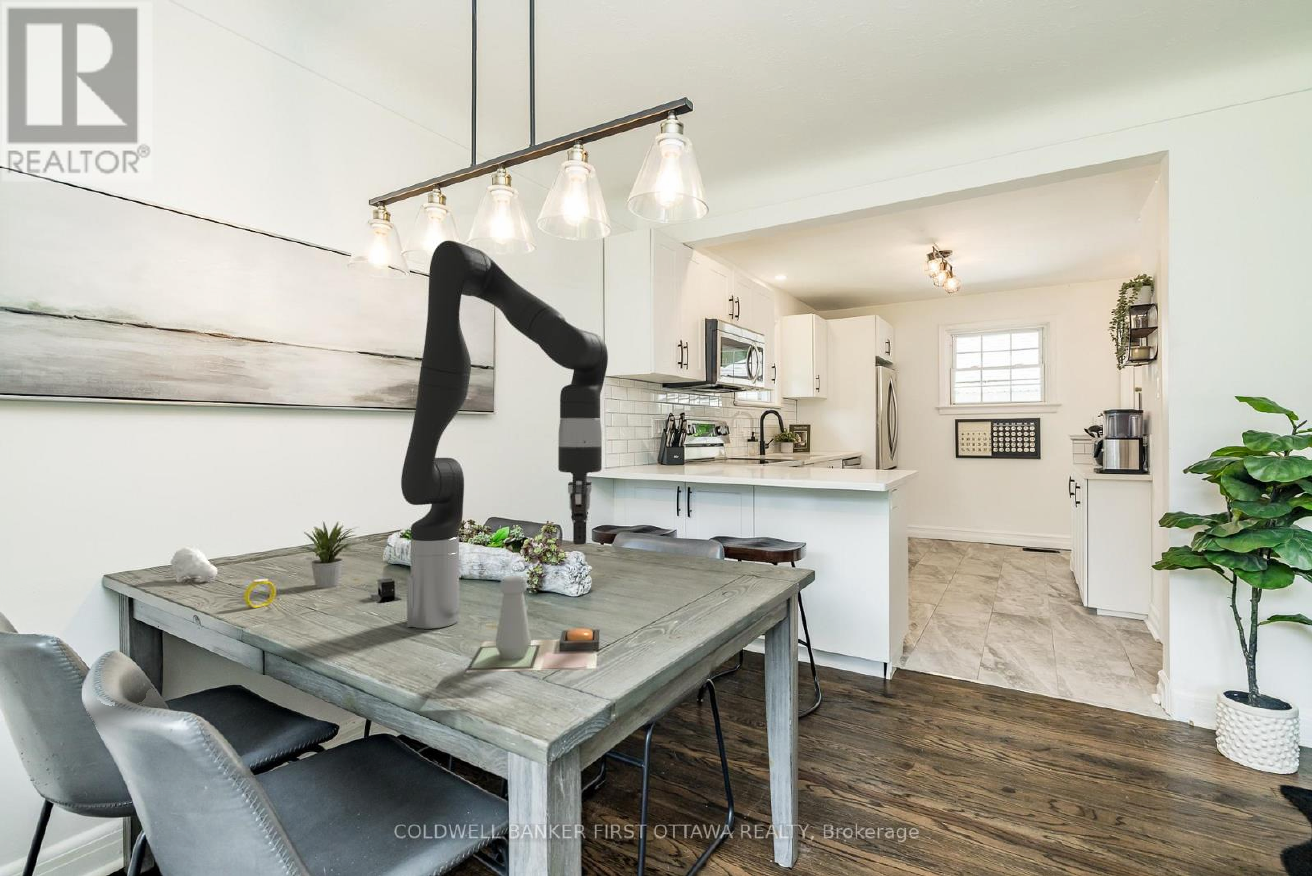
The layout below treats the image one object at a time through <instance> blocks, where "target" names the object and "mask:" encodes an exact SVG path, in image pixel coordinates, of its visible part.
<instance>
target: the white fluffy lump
mask: <svg viewBox="0 0 1312 876" xmlns="http://www.w3.org/2000/svg"><path fill="white" fill-rule="evenodd" d="M170 565H171V570H172V571H173V572H174V575H175V578H176V582H177V583H179V584H180V583H181V582H182V581H184V579H185V577H187V576H188V577H189V578H190V579H197V580H199V581H200V583H203V582H206V583H211V582H212V581H213V580H214V579H215V577H216V576H217V574H218V568H217V567H216V566H215V565H213V564H212V563H211V562H210V561H209V560H208V559H207V557H206V555H205V554H204V553H203V552H202V551H201V550H199V549H197V548H196V547H193V546H188V547H187V546H186V547H182V548H180V549H179V550H176V551H175V553H174V555H173V556H172V559H171V560H170Z"/></svg>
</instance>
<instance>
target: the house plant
mask: <svg viewBox="0 0 1312 876" xmlns="http://www.w3.org/2000/svg"><path fill="white" fill-rule="evenodd" d="M322 526H323V530H322V528H318V527H316V526H313V528H314V531H311V533H312V535H313V536H312V535H310V534H309V533H307V532H305V531H302V533H303V534H304V535H306V536H307V537H308V538H309V539H310V540H311V541H312V542H313V543H314V545H315V547H314V548H311V547H309V546H301V547H299V548H298V550H299V549H300V550H302V549H304V550H309V551H312V552H314V554H315V558H317V557H318V558H319V559H315V560H312V561H311V563H310V565H311V569H312V574H313V579H314V584H315V588H317V589H328V588H335V587H338V586H339V585H340V580H341V574H342V569H343V561H344V559H343V558H340V557H338V558H337V556H338V555H339V554H340V552H342V551H343V549H346V550H349V551H350V552H352V550H351V547H352V548H353V546H351V545H350V544H351V543H352V541H349V542H347V543H341V542H342V541H344V540H345V539H347V538H351V537H354V536H356V534H350V533H352V532H354V530H353V529H357V528H359V526H356V527H352V528H346V529H344V530H342V528H344V526H345V525H343V524H342V525H341V526H339V521H337V522H336V524H335V525H334V526H333V528H332V530H331V532H330V534H329V532H328V528H327V527H326V524H325V521H322ZM349 534H350V535H349ZM353 542H354V543H355V542H356V541H355V540H354V541H353ZM335 545H336V546H335ZM349 547H350V548H349ZM337 585H338V586H337ZM334 586H335V587H334Z"/></svg>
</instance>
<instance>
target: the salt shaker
mask: <svg viewBox="0 0 1312 876" xmlns="http://www.w3.org/2000/svg"><path fill="white" fill-rule="evenodd" d="M527 585H528V584H527V579H526V577H524V576H520V575H510V576H505V577H504V578H502V579H501V580H500V584H499V587H500V588H499V589H500V592H501V593H503V597H502V602H501V608H500V615H499V619H498V625H497V630H496V631H497V632H496V636H495V640H494V641H495V642H496V648H497V650H498V651H499V653H500V656H501V657H502V658H503V660H518V659H521V658H524V657H525V655H526V653H527V651H528V649H529V647H530V645H531V640H532V636H531V631H530V626H529V620H528V614H527V608H526V603H525V597H524V592H526V591H527V587H528V586H527Z"/></svg>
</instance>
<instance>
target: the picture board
mask: <svg viewBox="0 0 1312 876" xmlns="http://www.w3.org/2000/svg"><path fill="white" fill-rule="evenodd" d="M590 630H591V631H592V632H593V641H567V633H568V632H569V631H570V630H569V629H568V630H562V631H561V635H560V639H533V640H532V639H531V645H530V647H529V649H528V651H527V653H526V655H525V657H524V658H521V659H518V660H503V658H502V657H501V656H500V653H499V651H498V650H497V648H496V642H495V641H496V640H494V641H493V640H492V641H490V640H489V641H483V643H482V645H480V647H479V648H478V650H477V651H476V653H475V655H474V656H473V658H472V660H471V661H470V662H469V665H468V666H467V668H466V671H465V674H469V673H470V674H471V673H499V672H528V671H529V672H530V671H531V672H533V671H535V672H536V671H561V670H562V671H563V670H564V671H565V670H570V671H571V670H592V669H593V670H594V669H597V659H598V658H597V655H598V652H600V650H599V649H600V629H590Z"/></svg>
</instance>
